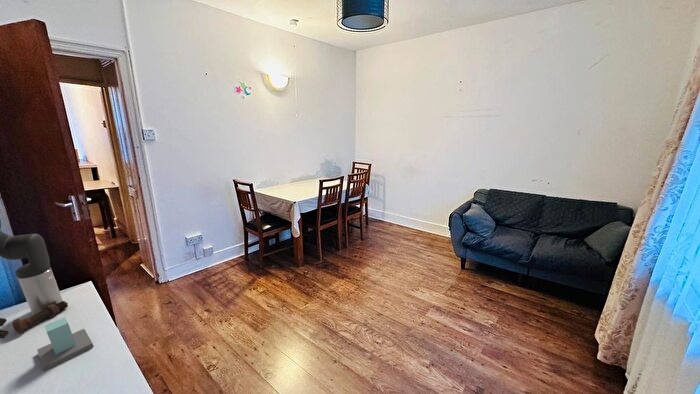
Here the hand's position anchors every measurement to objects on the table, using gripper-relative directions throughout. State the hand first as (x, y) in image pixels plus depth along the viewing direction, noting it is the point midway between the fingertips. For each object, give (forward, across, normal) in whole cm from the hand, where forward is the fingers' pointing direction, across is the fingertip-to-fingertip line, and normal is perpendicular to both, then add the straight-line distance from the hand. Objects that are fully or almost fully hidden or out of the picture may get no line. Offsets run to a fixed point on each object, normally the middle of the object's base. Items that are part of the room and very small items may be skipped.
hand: (5, 328), depth 85 cm
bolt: (+17, +29, +6) cm, 34 cm away
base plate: (+18, 0, +4) cm, 19 cm away
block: (+17, 0, +3) cm, 17 cm away
